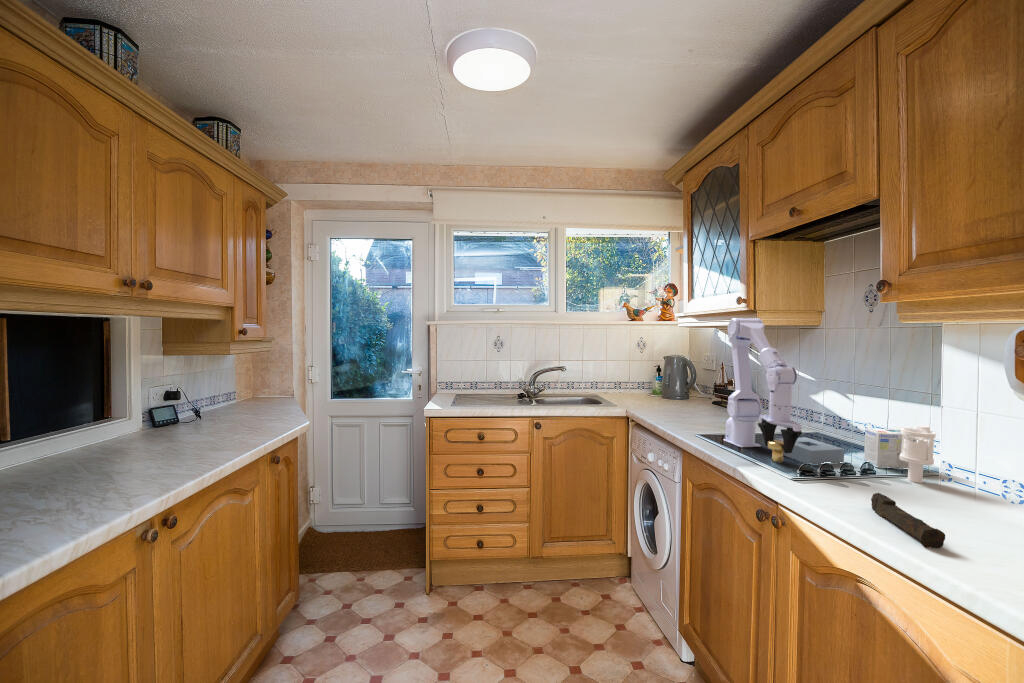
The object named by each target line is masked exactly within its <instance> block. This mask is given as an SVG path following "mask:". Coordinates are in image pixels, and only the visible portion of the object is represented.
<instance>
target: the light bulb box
mask: <svg viewBox="0 0 1024 683" xmlns="http://www.w3.org/2000/svg"><path fill="white" fill-rule="evenodd" d="M864 430H865V432H864V433H865V434H864V451H863V452H864V456H863V461H864V460H865V461H869V462H871V463H873V464H874V465H876V466H878V467H890V468H908V466H909V462H906V461H903V460H901V459H899V456H900V454H901V446H902V433H901V429H891V428H865V429H864ZM907 436H908V435H907ZM913 442H917V443H918V440H914V439H913Z"/></svg>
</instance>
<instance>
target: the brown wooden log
mask: <svg viewBox="0 0 1024 683" xmlns="http://www.w3.org/2000/svg"><path fill="white" fill-rule="evenodd" d="M870 498H871V499H870V501H871V508H872V510H873V512H874V511H875V512H874V513H875V514H876V513H877V514H876V515H877V516H879V518H881V517H882V518H881V519H883V518H885V520H888V521H890V523H893V524H894V525H895V526H898V527H899V528H900V529H902V530H903V531H905V532H906V533H907V534H909V535H910V536H912V537H913V538H915V539H916V540H917V541H920V545H921V546H922V547H923V546H924V548H929V547H931V549H941V548H942V547H943V546H944V542H945V541H946V534H945V533H944V532H943V531H942V530H941V529H938V528H935V527H932V526H930V525H929V524H927V523H926V522H924V520H922V519H920V518H918V517H915V516H914V515H912V514H911V513H908V511H905V510H903V509H902V508H900V507H899V506H898V505H897V501H895V500H893V499H891V498H890V497H888V496H887V495H885V494H882V493H880V492H876V493H873V494H872V496H871V497H870Z"/></svg>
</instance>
